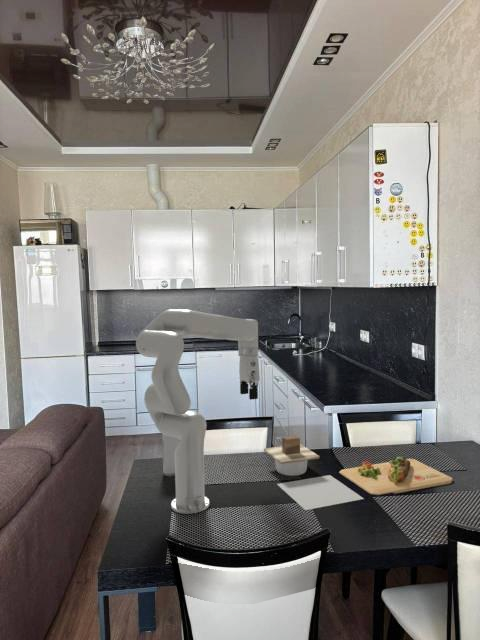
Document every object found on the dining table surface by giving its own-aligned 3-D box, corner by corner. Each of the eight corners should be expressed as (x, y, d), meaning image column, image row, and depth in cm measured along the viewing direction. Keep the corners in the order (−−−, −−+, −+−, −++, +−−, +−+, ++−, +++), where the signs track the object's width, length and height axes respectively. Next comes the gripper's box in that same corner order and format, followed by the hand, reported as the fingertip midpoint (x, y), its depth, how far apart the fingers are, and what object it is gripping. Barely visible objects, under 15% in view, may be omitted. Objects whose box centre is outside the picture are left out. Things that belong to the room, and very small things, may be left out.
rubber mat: (364, 500, 160) (364, 498, 160) (305, 511, 152) (305, 510, 152) (330, 476, 181) (330, 475, 180) (276, 485, 173) (276, 484, 173)
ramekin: (307, 479, 178) (307, 461, 178) (272, 477, 181) (272, 459, 181) (309, 466, 191) (309, 449, 191) (276, 464, 194) (276, 447, 194)
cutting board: (373, 499, 162) (373, 478, 162) (337, 474, 184) (337, 455, 184) (455, 484, 174) (455, 463, 173) (412, 462, 196) (412, 444, 195)
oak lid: (319, 458, 181) (319, 440, 180) (281, 464, 176) (280, 445, 175) (300, 445, 196) (300, 429, 196) (264, 450, 191) (263, 433, 190)
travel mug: (181, 470, 189) (180, 420, 188) (177, 476, 183) (176, 425, 181) (165, 470, 190) (164, 420, 188) (161, 476, 183) (160, 425, 182)
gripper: (266, 353, 175) (266, 400, 176) (249, 348, 191) (249, 391, 192) (247, 355, 172) (247, 402, 173) (231, 349, 188) (232, 392, 189)
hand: (248, 396), depth 182 cm, fingers open, 9 cm apart
